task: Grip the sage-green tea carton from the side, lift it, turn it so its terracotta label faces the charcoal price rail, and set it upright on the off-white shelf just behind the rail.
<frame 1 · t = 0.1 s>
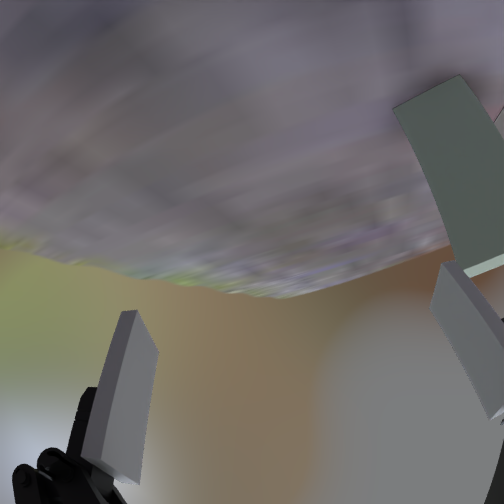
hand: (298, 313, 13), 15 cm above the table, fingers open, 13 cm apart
tea carton: (434, 107, 22), on the table
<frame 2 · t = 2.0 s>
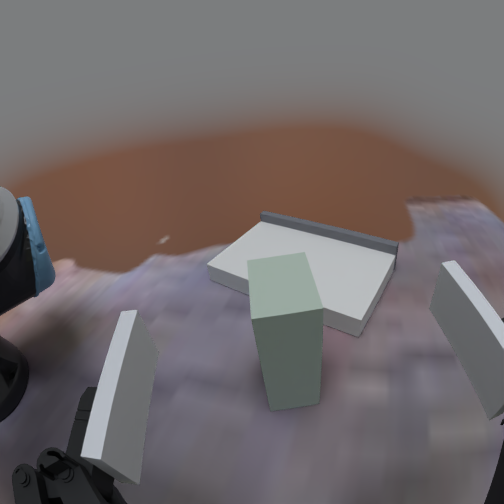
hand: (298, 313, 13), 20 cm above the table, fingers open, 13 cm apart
tea carton: (290, 380, 32), on the table
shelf: (301, 276, 46), on the table
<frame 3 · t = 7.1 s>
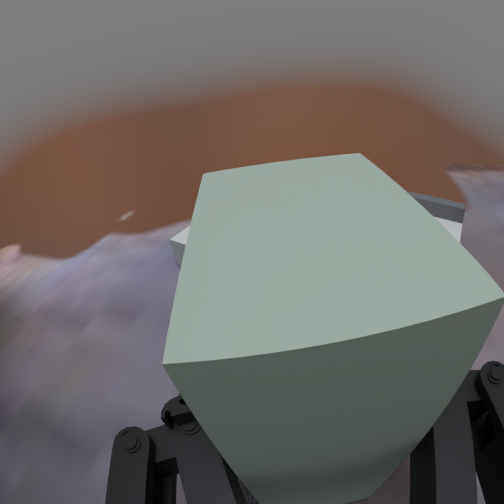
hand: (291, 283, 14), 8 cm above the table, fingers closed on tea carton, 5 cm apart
tea carton: (311, 451, 14), on the table, touching gripper
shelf: (321, 258, 29), on the table
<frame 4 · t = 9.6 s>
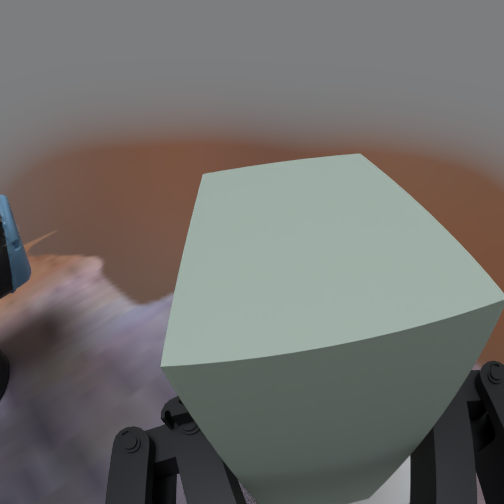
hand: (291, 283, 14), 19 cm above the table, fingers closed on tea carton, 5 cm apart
tea carton: (310, 452, 14), point 11 cm above the table, touching gripper
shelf: (345, 403, 27), on the table
when the fingers open (12 cm above the table, at t = 12.3 s): tea carton drops 1 cm, resting on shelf.
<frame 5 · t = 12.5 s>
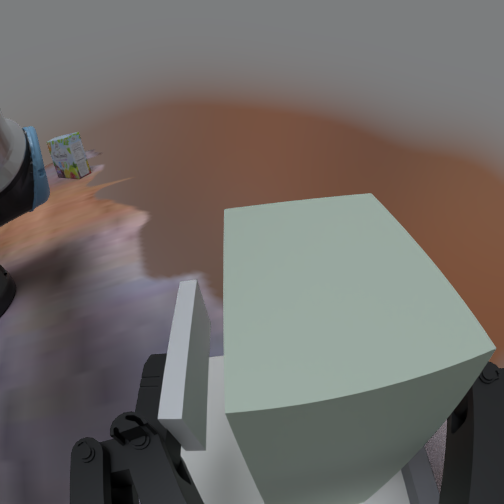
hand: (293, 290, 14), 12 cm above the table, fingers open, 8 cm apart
tea carton: (310, 459, 15), point 3 cm above the table, touching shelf
snack box: (73, 176, 96), on the table
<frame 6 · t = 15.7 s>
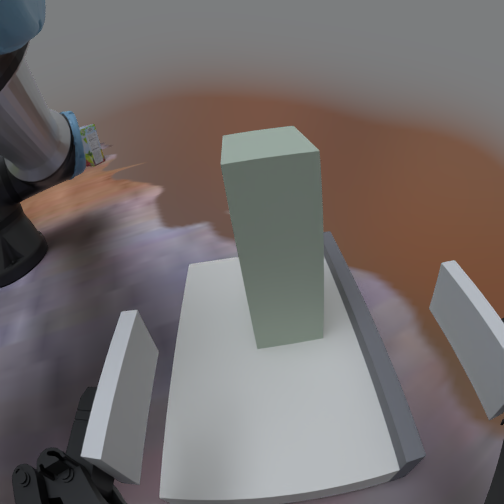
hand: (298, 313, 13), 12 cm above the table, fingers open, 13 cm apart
tea carton: (283, 312, 26), point 3 cm above the table, touching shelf
snack box: (87, 164, 107), on the table
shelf: (267, 365, 25), on the table
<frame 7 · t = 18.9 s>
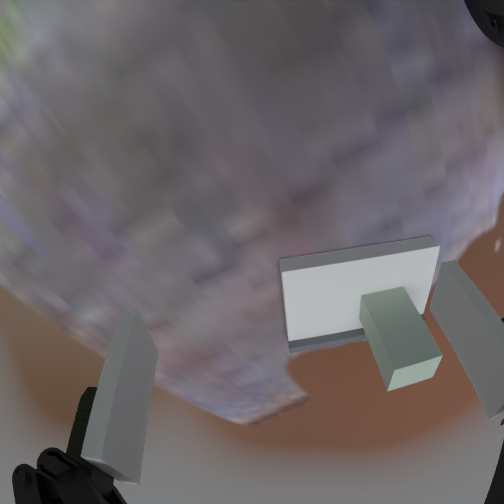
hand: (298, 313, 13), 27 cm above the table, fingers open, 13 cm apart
tea carton: (380, 302, 46), point 3 cm above the table, touching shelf
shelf: (358, 284, 47), on the table
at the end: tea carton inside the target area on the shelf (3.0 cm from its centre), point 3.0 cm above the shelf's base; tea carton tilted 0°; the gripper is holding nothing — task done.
